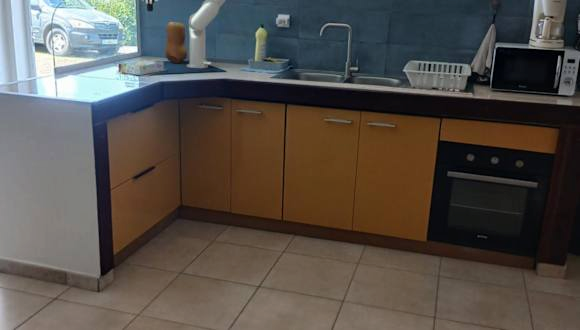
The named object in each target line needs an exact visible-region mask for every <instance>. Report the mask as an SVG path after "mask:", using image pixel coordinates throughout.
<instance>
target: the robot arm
mask: <svg viewBox="0 0 580 330" xmlns="http://www.w3.org/2000/svg"><path fill="white" fill-rule="evenodd" d="M142 1H143V2H145V4H146V9H147V10H146V11H147V12H153V11H154V3H155V2H158V1H160V0H142ZM225 2H226V0H204V1H203V2H202V4H201V6H200V8H199V9H198V10H196V12H195V13H192V14H191V15H190V16H189V19H188V39H189V40H188V41H189V43H188V45H189V49H188V50H189V52H188V53H189V55H188V56H189V61H188V64H186V68H191V69H207V68H209V66H212V63H213V62H212V61H208V59H206V28H207V26H208V25H209V24H210V23H211V22H212V21H213V19H215V17H216V16H217V15H218V13H219V11H220V8H221V7H222V6H223V4H224V3H225Z"/></svg>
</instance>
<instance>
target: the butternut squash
mask: <svg viewBox="0 0 580 330" xmlns="http://www.w3.org/2000/svg"><path fill="white" fill-rule="evenodd" d="M185 40H186V27H185V25H184V24H183V23H181V22H178V21H177V22H176V21H170V22H168V23H167V25H166V44H165V45H166V46H165V48H164V55H165V58H166V59H167V60H168V61H169V62H172V63H174V64H177V63H179V64H180V63H183V62H185V61H186V59H187V57H188V49H187V46H186V45H185V44H186V43H185Z"/></svg>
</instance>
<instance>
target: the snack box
mask: <svg viewBox="0 0 580 330" xmlns="http://www.w3.org/2000/svg"><path fill="white" fill-rule="evenodd" d="M159 71H164V61H160V60H150V59H136V60H130V61H125V62H119V63H118V72H119V73H123V74H126V73H129V74H136V75H135V76H138V75H144V74H149V73H154V72H159ZM164 72H165V71H164Z"/></svg>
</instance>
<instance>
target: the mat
mask: <svg viewBox="0 0 580 330" xmlns="http://www.w3.org/2000/svg"><path fill="white" fill-rule="evenodd" d="M166 70H167V69H164V72H167V71H166ZM160 72H161V73H162V72H163V71H159V72H154V73H149V74H144V75H136V74H129V73H125V75H126V76H128V75H129V76H139V77H140V76H141V77H151V76H154V75H157V74H160ZM164 72H163V73H164Z"/></svg>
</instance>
